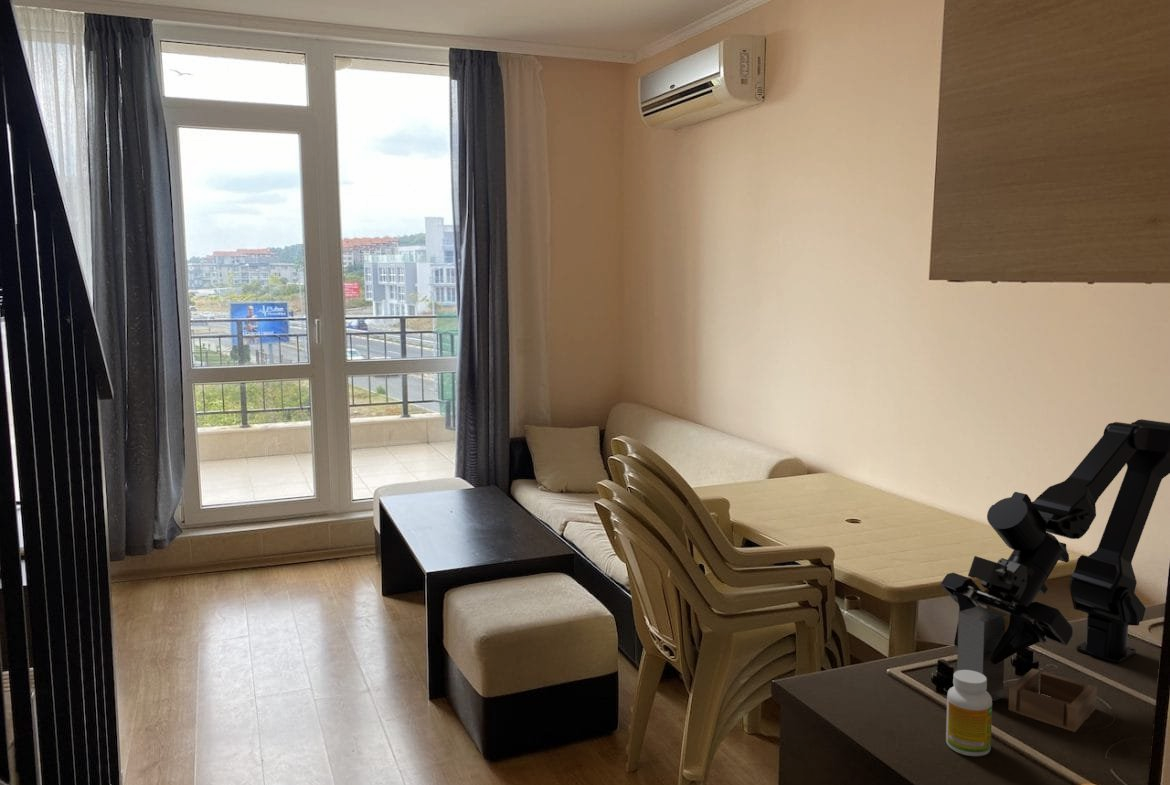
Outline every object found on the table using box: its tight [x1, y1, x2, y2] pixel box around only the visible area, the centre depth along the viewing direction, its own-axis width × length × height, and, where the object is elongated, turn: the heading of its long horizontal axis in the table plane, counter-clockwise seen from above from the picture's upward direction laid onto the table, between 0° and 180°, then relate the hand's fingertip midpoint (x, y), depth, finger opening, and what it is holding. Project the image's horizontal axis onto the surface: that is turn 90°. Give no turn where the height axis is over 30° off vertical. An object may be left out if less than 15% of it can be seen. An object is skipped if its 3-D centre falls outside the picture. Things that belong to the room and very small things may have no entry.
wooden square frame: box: [1008, 667, 1098, 733], centre depth 123 cm, size 9×9×4 cm
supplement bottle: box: [945, 670, 993, 757], centre depth 114 cm, size 5×5×10 cm
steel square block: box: [956, 606, 1006, 702], centre depth 127 cm, size 4×4×12 cm
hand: (973, 654), depth 126 cm, fingers open, 6 cm apart
